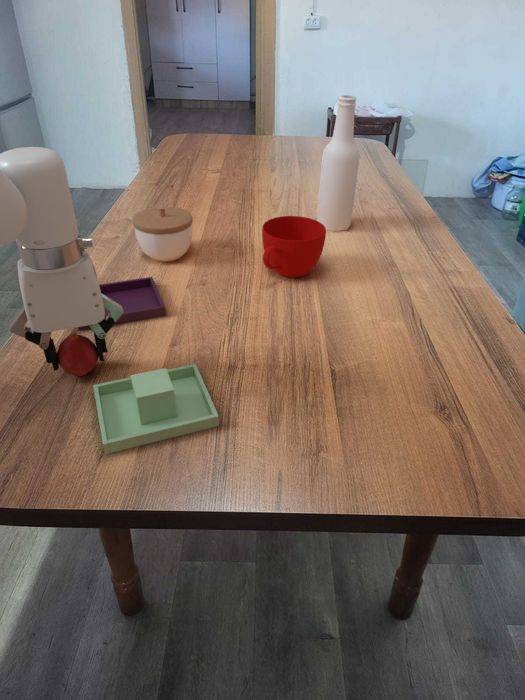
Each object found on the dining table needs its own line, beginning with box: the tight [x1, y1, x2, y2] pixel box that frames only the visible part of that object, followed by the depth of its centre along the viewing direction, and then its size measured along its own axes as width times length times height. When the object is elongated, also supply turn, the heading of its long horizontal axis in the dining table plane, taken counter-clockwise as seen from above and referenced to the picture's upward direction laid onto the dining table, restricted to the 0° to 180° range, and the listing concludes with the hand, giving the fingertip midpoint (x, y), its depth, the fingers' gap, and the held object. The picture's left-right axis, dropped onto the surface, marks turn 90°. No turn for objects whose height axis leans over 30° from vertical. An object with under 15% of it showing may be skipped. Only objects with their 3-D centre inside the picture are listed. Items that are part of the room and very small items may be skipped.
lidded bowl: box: [132, 206, 194, 263], centre depth 107 cm, size 13×13×11 cm
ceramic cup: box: [261, 215, 327, 279], centre depth 101 cm, size 13×17×10 cm
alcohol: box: [315, 94, 360, 232], centre depth 117 cm, size 9×9×30 cm
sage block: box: [130, 367, 177, 425], centre depth 68 cm, size 5×5×5 cm
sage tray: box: [92, 363, 220, 455], centre depth 69 cm, size 15×12×2 cm
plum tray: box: [77, 276, 167, 332], centre depth 91 cm, size 15×12×2 cm
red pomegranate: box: [56, 331, 99, 377], centre depth 74 cm, size 6×6×8 cm
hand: (78, 359), depth 74 cm, fingers closed on red pomegranate, 5 cm apart
